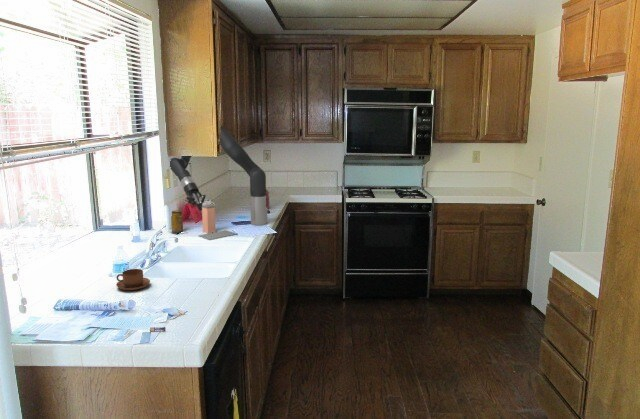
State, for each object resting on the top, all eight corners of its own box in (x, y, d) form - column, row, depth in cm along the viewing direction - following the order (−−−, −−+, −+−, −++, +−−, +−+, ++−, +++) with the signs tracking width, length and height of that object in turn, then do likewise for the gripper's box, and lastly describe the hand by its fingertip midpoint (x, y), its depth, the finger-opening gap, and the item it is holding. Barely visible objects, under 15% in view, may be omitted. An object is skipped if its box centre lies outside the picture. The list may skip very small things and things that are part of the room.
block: (210, 230, 274) (209, 204, 271) (215, 231, 271) (214, 205, 268) (202, 231, 271) (201, 205, 268) (207, 233, 267) (207, 206, 264)
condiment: (179, 230, 274) (178, 209, 272) (188, 232, 269) (187, 211, 266) (168, 232, 269) (167, 211, 267) (176, 234, 264) (175, 213, 261)
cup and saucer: (116, 294, 177) (115, 278, 176) (116, 284, 188) (115, 268, 187) (151, 290, 182) (150, 275, 180) (149, 280, 192) (148, 265, 191)
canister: (247, 209, 334) (247, 184, 331) (255, 206, 347) (255, 182, 343) (265, 211, 331) (264, 185, 327) (272, 207, 343) (272, 182, 339)
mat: (225, 230, 273) (225, 230, 273) (237, 234, 266) (237, 233, 266) (198, 236, 261) (198, 235, 261) (209, 240, 253) (209, 239, 253)
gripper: (181, 183, 272) (194, 207, 266) (201, 181, 281) (214, 204, 275) (176, 191, 277) (189, 215, 271) (197, 189, 286) (209, 212, 280)
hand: (201, 209), depth 273 cm, fingers closed
